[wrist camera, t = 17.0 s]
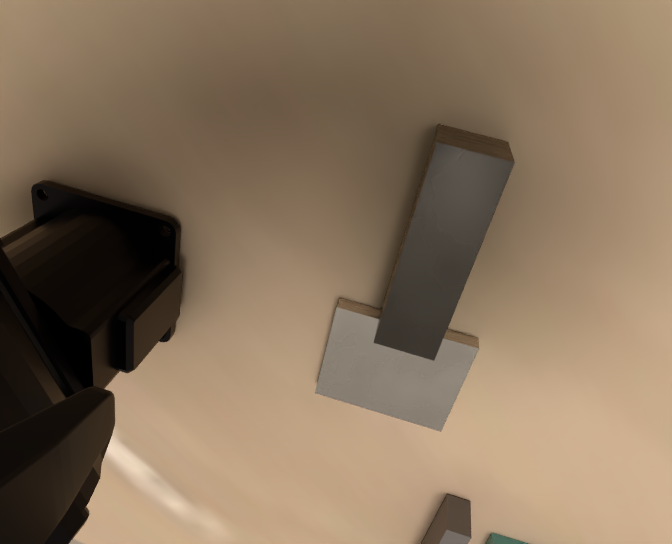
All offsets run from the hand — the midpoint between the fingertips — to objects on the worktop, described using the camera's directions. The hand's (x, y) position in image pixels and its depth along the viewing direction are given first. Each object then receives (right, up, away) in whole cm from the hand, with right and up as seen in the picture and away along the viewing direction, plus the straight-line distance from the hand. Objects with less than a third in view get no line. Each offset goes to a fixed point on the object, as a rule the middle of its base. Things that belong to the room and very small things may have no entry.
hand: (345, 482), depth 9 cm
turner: (+3, +3, +12) cm, 12 cm away
